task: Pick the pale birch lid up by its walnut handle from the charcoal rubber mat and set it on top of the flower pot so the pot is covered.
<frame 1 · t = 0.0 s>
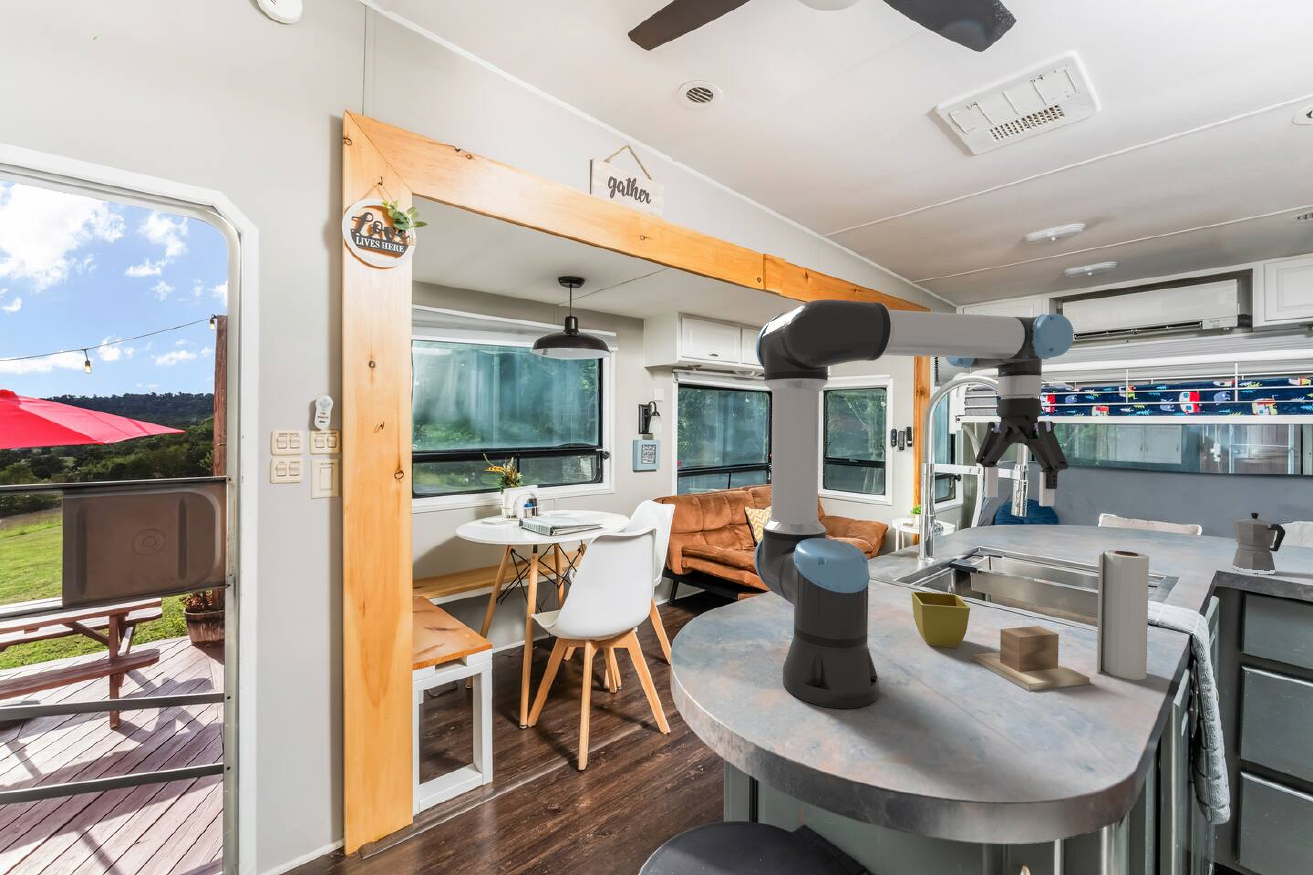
hand: (1017, 501, 115), 28 cm above the worktop, tool pointing down, fingers open, 13 cm apart
mat: (1028, 673, 98), on the worktop
paper towel roll: (1119, 674, 98), on the worktop
lid: (1028, 671, 98), resting on mat
flower pot: (938, 644, 111), on the worktop
coffeepot: (1256, 572, 170), on the worktop
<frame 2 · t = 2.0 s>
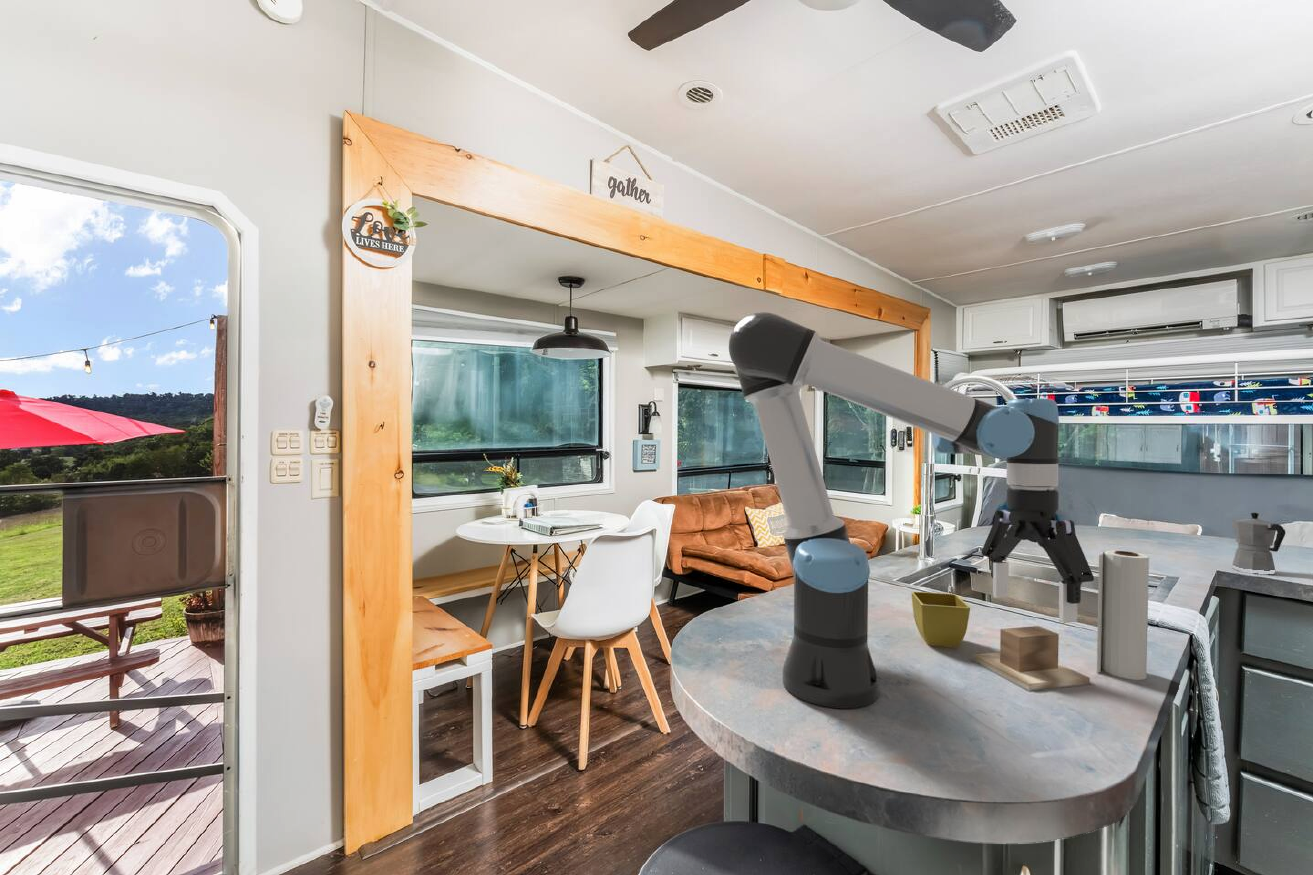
hand: (1032, 608, 98), 11 cm above the worktop, tool pointing down, fingers open, 13 cm apart
nothing on the worktop moved.
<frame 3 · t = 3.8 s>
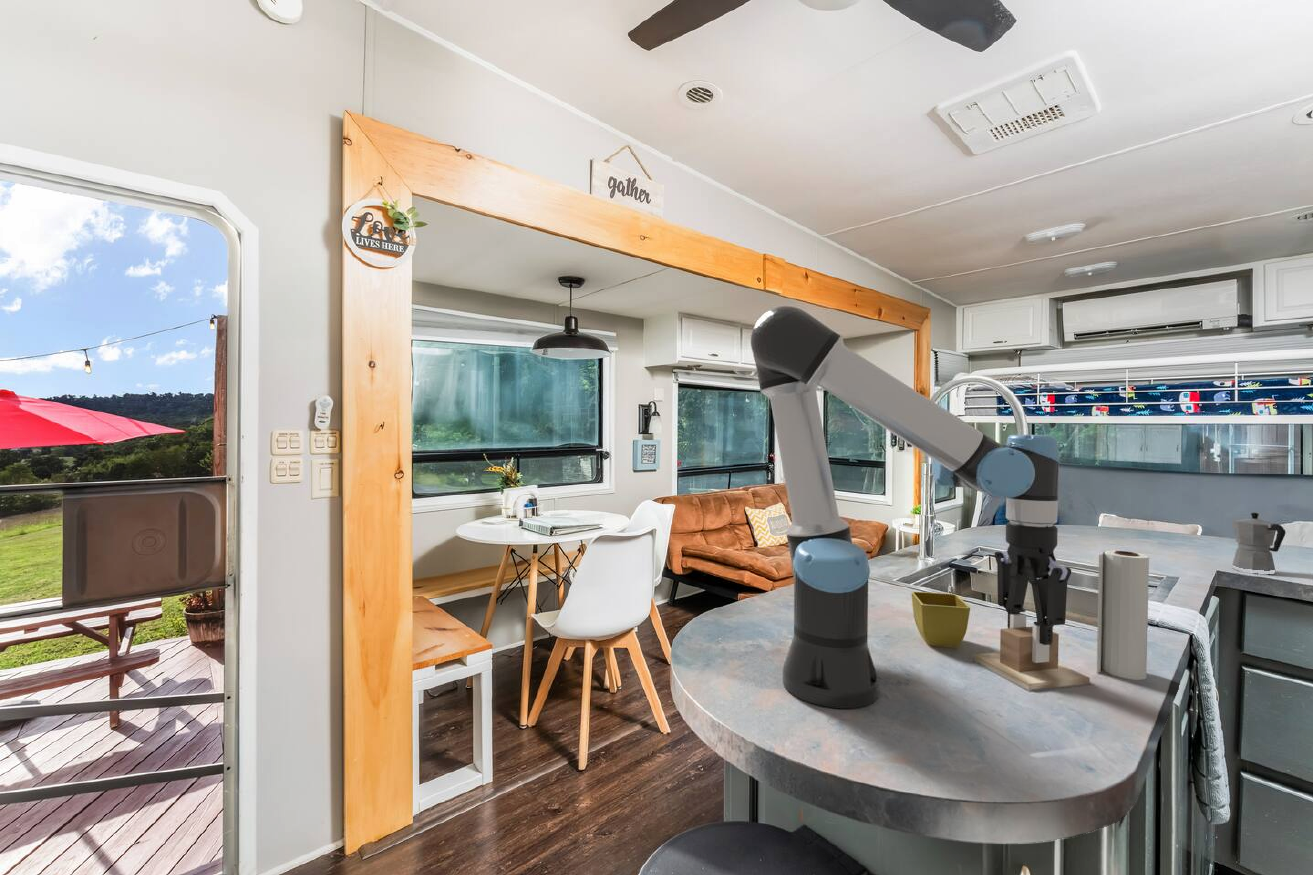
hand: (1028, 655, 98), 3 cm above the worktop, tool pointing down, fingers closed on lid, 4 cm apart
lid: (1028, 671, 98), resting on mat, touching gripper
everything else where it was.
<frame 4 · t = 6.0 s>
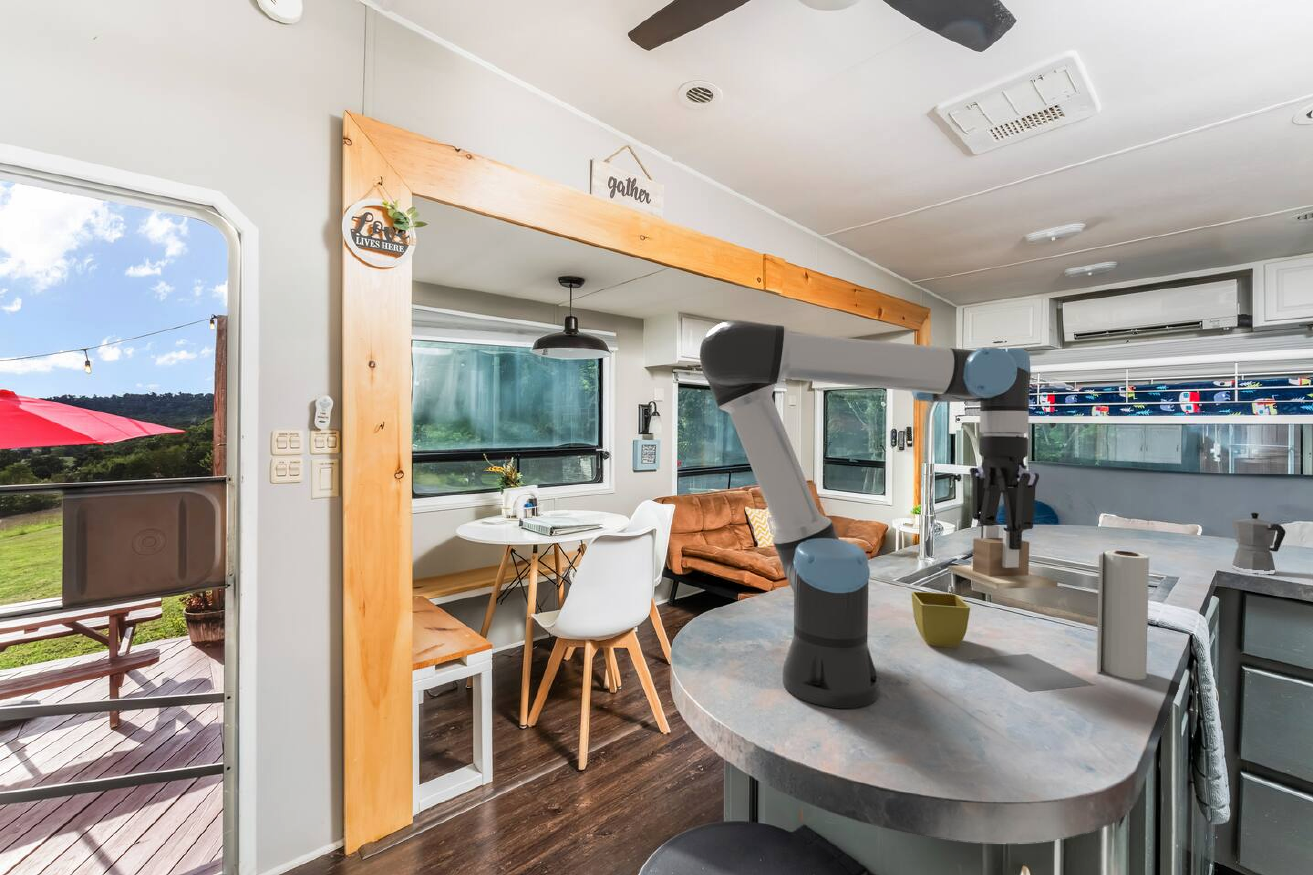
hand: (1000, 563, 102), 18 cm above the worktop, tool pointing down, fingers closed on lid, 4 cm apart
lid: (1000, 578, 102), point 16 cm above the worktop, touching gripper
everything else where it was.
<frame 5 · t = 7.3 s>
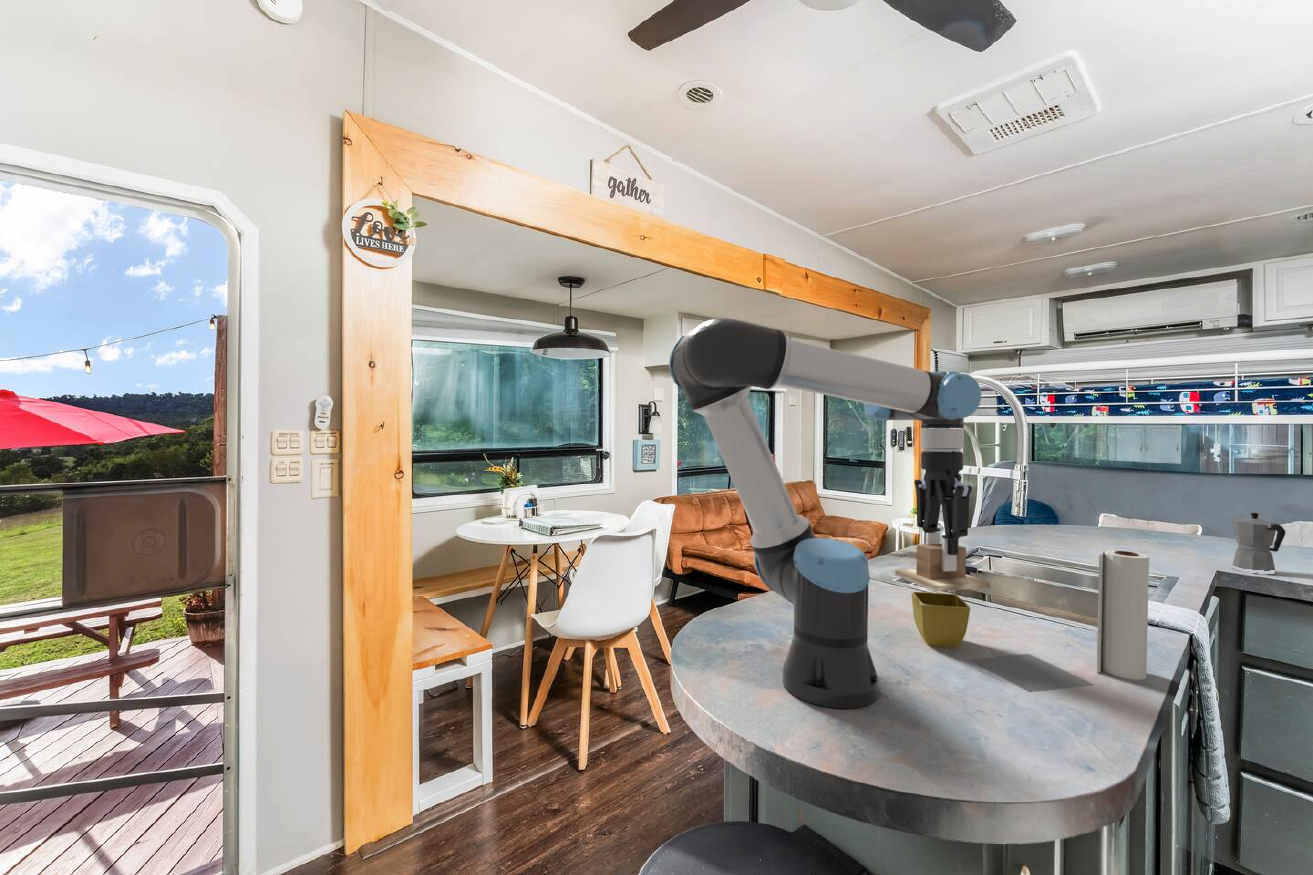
hand: (940, 567, 111), 15 cm above the worktop, tool pointing down, fingers closed on lid, 4 cm apart
lid: (940, 581, 111), point 12 cm above the worktop, touching gripper
everything else where it was.
when the fingers open (14 cm above the worktop, at t = 8.2 s): lid drops 2 cm, resting on flower pot.
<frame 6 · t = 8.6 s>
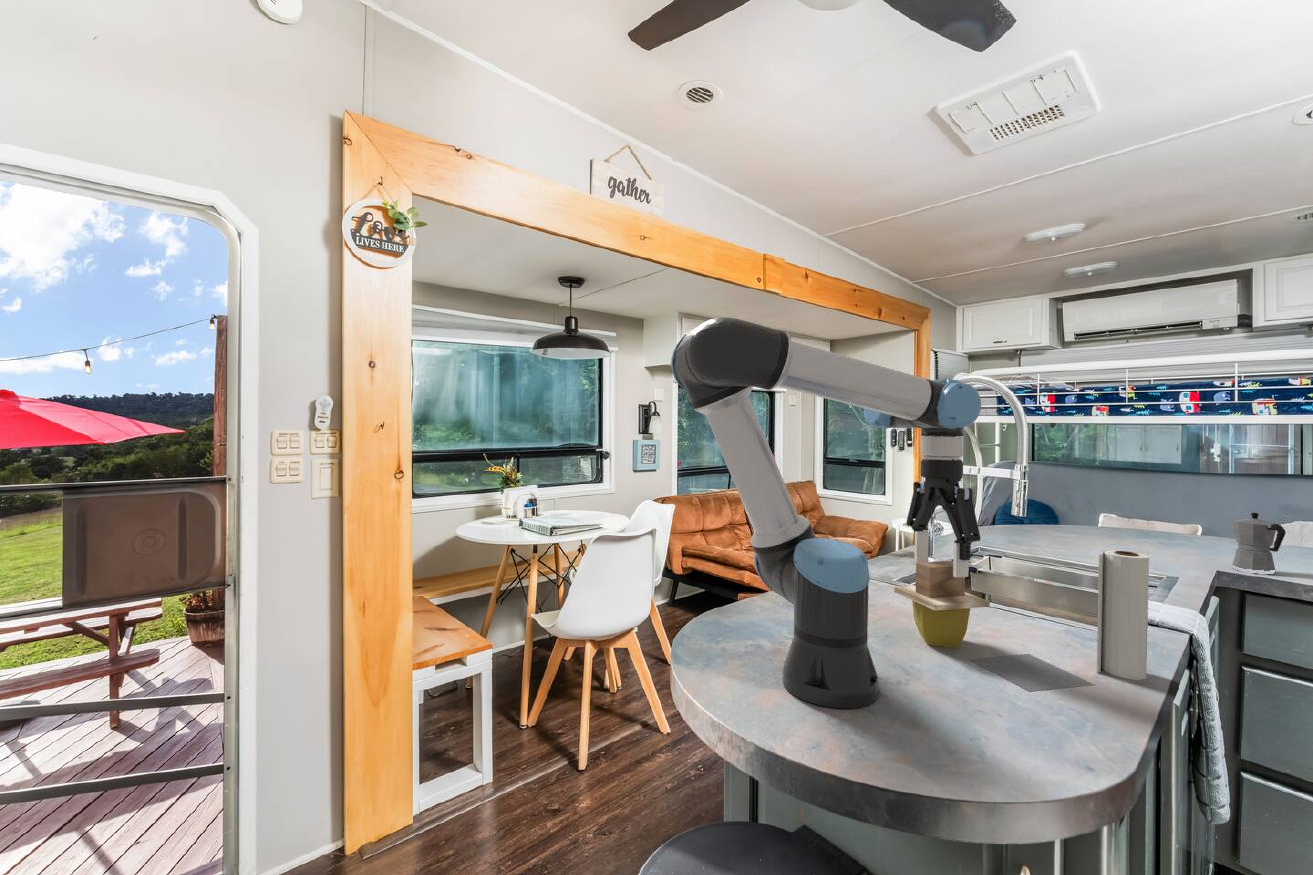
hand: (940, 569, 111), 15 cm above the worktop, tool pointing down, fingers open, 10 cm apart
lid: (939, 599, 111), point 9 cm above the worktop, touching flower pot
flower pot: (938, 644, 111), on the worktop, touching lid
everything else where it was.
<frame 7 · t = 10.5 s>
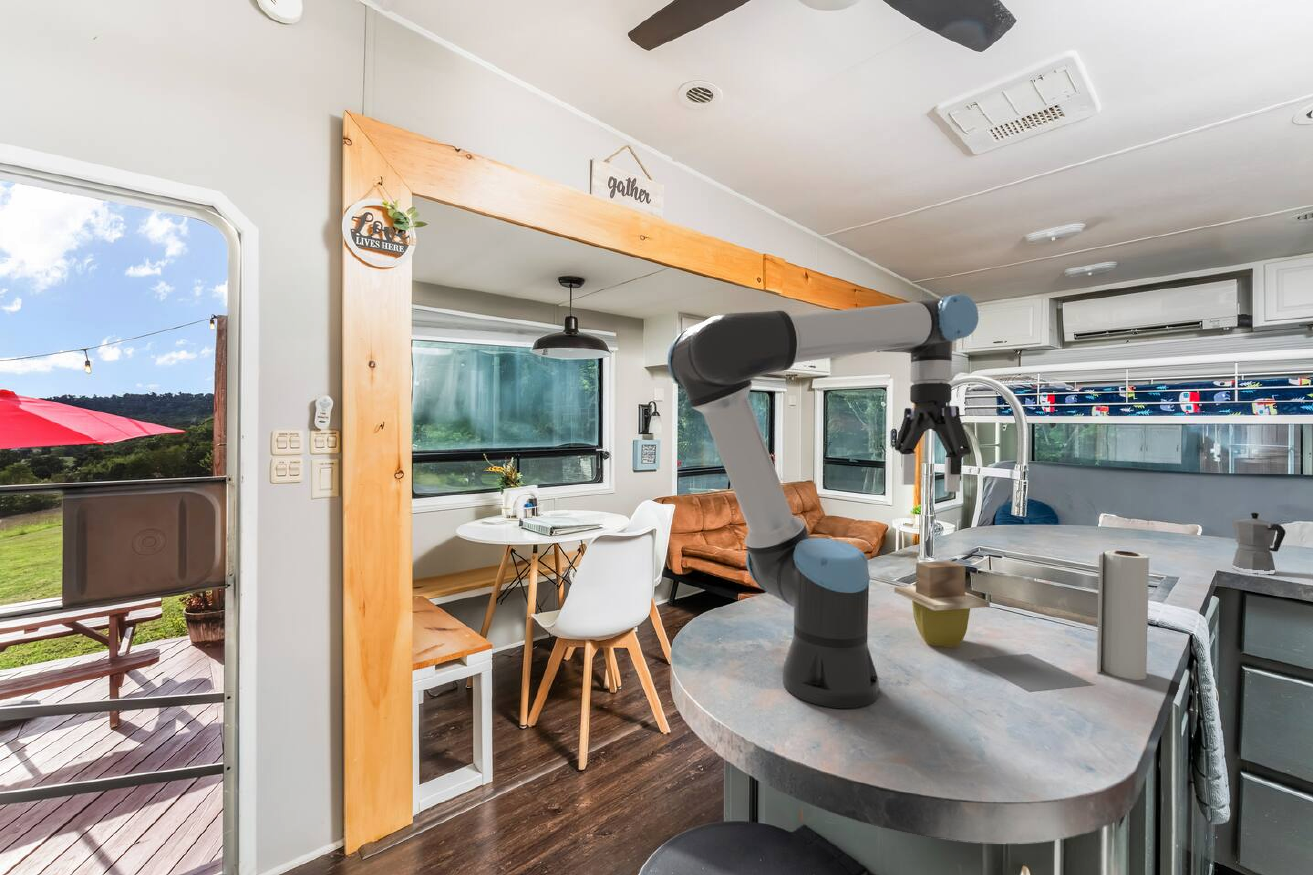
hand: (928, 488, 114), 31 cm above the worktop, tool pointing down, fingers open, 13 cm apart
nothing on the worktop moved.
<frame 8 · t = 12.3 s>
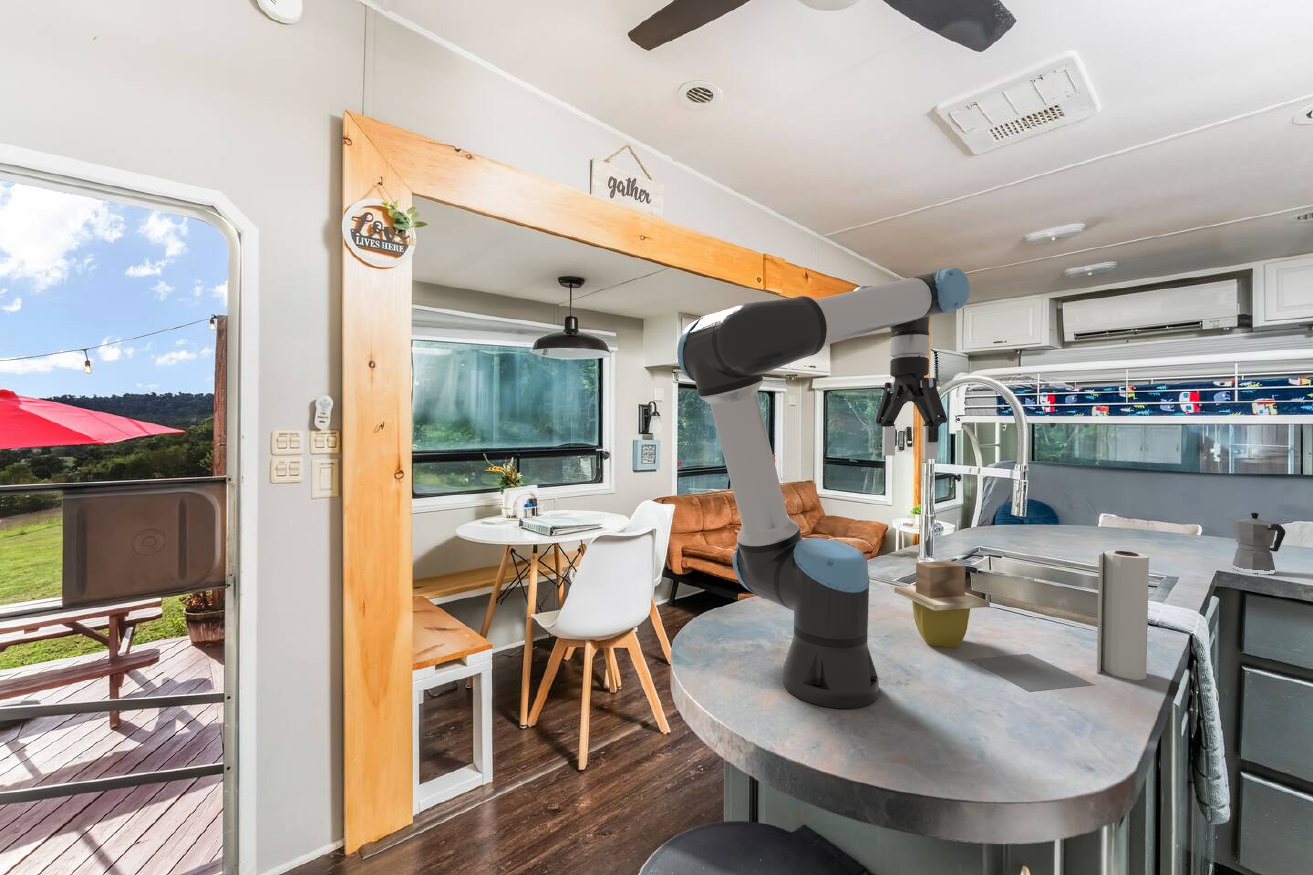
hand: (908, 457, 119), 37 cm above the worktop, tool pointing down, fingers open, 13 cm apart
nothing on the worktop moved.
at the end: lid 0.1 cm from the flower pot (horizontally); lid point 8.9 cm above the worktop; lid tilted 0° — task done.
